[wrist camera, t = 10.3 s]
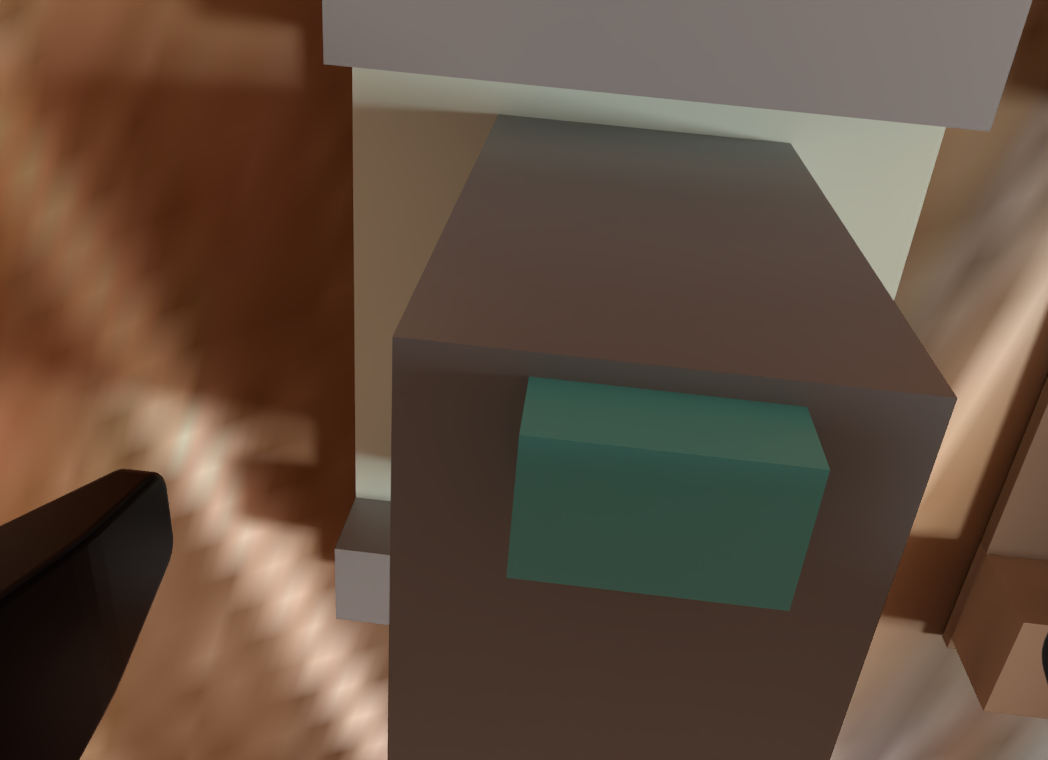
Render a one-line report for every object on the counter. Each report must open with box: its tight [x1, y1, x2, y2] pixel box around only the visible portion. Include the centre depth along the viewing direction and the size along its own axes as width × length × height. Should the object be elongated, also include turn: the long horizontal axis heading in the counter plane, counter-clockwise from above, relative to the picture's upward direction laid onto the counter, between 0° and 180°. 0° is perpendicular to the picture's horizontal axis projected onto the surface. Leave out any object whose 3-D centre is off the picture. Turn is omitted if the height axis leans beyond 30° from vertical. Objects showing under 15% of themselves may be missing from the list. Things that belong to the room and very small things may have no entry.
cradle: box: [322, 0, 1032, 625], centre depth 14 cm, size 8×12×2 cm, turn 176°
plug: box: [388, 114, 957, 760], centre depth 11 cm, size 4×6×8 cm, turn 176°
